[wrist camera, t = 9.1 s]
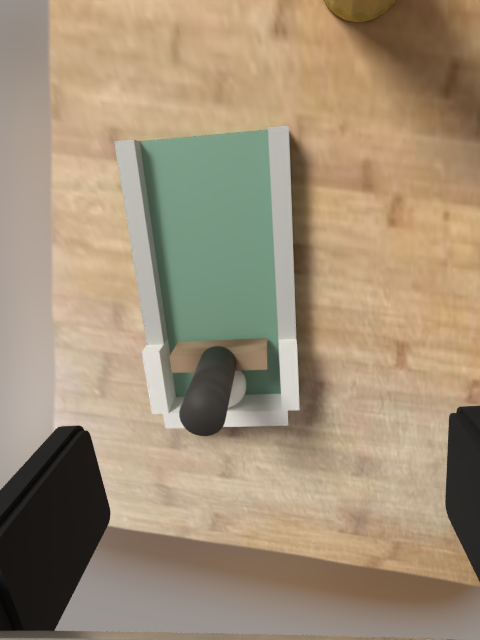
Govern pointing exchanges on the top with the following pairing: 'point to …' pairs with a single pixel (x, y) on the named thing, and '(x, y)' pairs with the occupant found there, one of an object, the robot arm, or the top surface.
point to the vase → (359, 9)
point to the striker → (213, 378)
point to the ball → (237, 388)
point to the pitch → (214, 260)
